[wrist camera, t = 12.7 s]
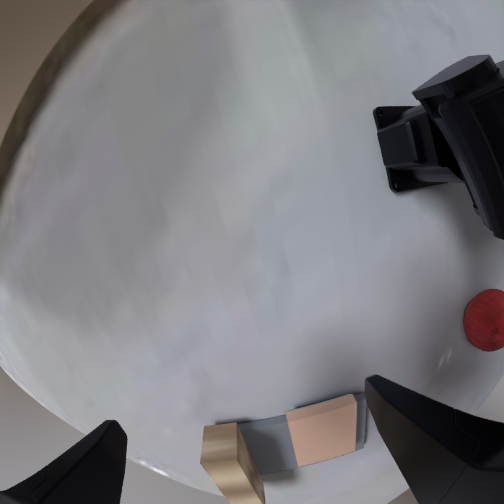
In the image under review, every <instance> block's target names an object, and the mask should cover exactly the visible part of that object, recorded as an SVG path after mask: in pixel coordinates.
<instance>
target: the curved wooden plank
mask: <svg viewBox="0 0 504 504" xmlns="http://www.w3.org/2000/svg"><path fill="white" fill-rule="evenodd" d="M200 464H201V465H202V467H203V468H204V469H205V471H206V472H207V474H208V475H209V476H210V478H211V479H212V480H213V482H214V483H215V484H216V486H217V487H218V488H219V490H220V491H221V492H222V493H223V495H224V496H225V497H226V498H227V500H228V501H229V502H230V503H231V504H266V503H265V494H264V485H263V480H262V478H261V476H260V473H259V471H258V469H257V467H256V465H255V463H254V461H253V459H252V456H251V454H250V452H249V450H248V448H247V445H246V443H245V441H244V439H243V436H242V434H241V432H240V429H239V427H238V425H237V422H234V423H227V424H220V425H211V426H204V432H203V442H202V451H201V461H200Z"/></svg>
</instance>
